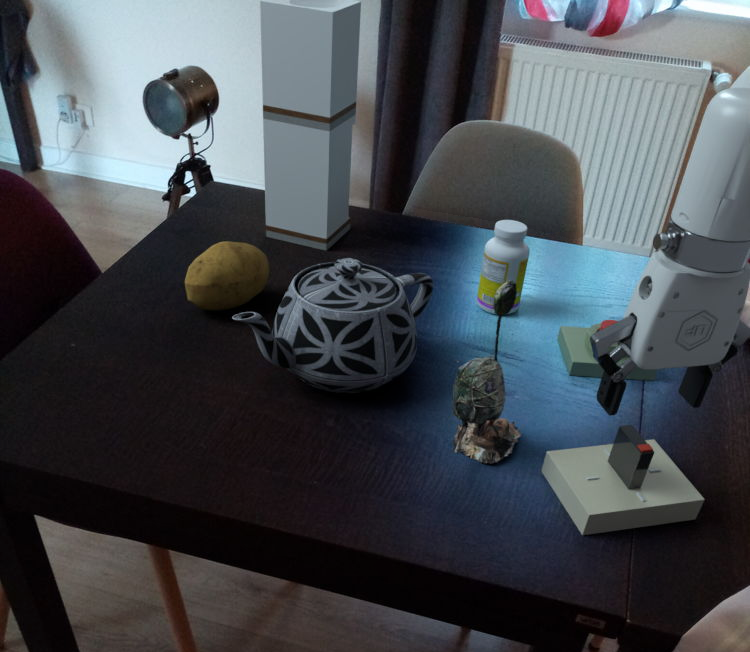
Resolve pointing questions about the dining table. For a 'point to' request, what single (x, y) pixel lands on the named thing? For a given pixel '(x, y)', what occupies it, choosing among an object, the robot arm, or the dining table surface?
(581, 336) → the cutoff housing
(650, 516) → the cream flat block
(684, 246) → the robot arm
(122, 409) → the dining table surface
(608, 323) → the cutoff button
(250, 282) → the potato
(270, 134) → the banded white pillar
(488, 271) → the supplement bottle
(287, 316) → the teapot
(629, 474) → the dark grey rectangular block
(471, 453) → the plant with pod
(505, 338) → the dining table surface
